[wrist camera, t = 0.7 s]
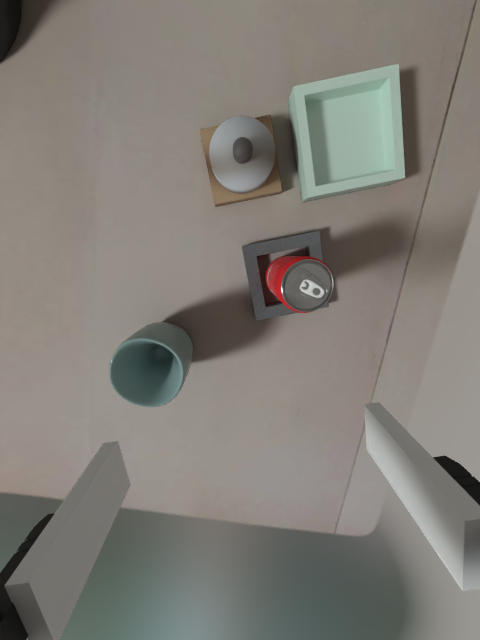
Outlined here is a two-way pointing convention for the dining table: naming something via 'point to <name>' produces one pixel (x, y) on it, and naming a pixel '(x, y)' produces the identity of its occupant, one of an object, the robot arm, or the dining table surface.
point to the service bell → (241, 159)
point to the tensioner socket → (273, 246)
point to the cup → (152, 364)
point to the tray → (348, 133)
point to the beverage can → (300, 282)
